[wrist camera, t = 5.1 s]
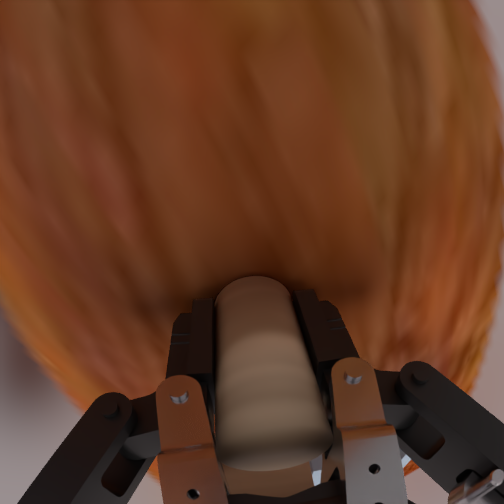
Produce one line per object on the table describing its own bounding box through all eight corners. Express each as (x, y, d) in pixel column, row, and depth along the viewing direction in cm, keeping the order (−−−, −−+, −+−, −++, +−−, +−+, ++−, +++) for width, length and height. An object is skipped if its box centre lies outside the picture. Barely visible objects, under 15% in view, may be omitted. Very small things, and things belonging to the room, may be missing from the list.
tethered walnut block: (187, 281, 11) (171, 432, 6) (314, 270, 11) (375, 407, 6) (226, 449, 18) (231, 527, 13) (294, 442, 18) (309, 518, 13)
